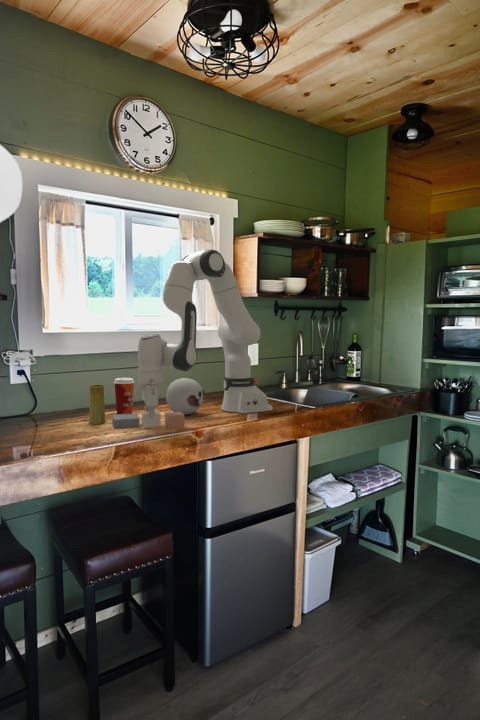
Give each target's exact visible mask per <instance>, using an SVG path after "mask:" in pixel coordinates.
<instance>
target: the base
mask: <svg viewBox="0 0 480 720" xmlns="http://www.w3.org/2000/svg"><path fill="white" fill-rule="evenodd" d="M111 415H112V416H111V417H112V424H113V428H114V429H117V428H118V429H119V428H134V427H138V428H139V427H140V417H139V416H138V414H137V413H132V414H117V413H116V414H111Z"/></svg>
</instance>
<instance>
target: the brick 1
mask: <svg viewBox="0 0 480 720" xmlns="http://www.w3.org/2000/svg"><path fill="white" fill-rule="evenodd" d="M161 419H162V418H161V413H160V411H159V410H155V411H154V418H149V411H145V410H144V411H143V410H142V411H141V423H142V427H143V429H148V428H149V429H151V428H161V427H162V425H161V424H162V423H161V422H162V421H161Z"/></svg>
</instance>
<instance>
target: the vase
mask: <svg viewBox="0 0 480 720" xmlns="http://www.w3.org/2000/svg"><path fill="white" fill-rule="evenodd" d="M104 392H105V385H104V384H101V383H100V384H99V383H98V384H97V383H96V384H91V385H89V414H88V415H89V420H88V423H89V424H90V425H100V424H105V423H106V422H107V421H106V409H105V408H106V407H105V393H104Z"/></svg>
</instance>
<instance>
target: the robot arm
mask: <svg viewBox="0 0 480 720" xmlns="http://www.w3.org/2000/svg"><path fill="white" fill-rule="evenodd" d="M203 280H206V281H208V283H209V285H210V290H211V293H212V296H213V299H214V303H215V305H216V308H217V311H218V312H219V313H220V314H221V315H222V318H223V319H224V321H222V322H221V323H220V324H219V326H218V327H217V336H218V337H219V340H220V342H221V345H222V349H223V354H224V365H225V366H224V376H223V390H224V393H223V398H222V399H223V400H222V405H221V407H220V409H221V410H222V411H225V412H228V413H229V412H230V413H238V414H250V413H251V414H252V413H260V412H270V411H273V410H274V407H273V406H272V405H271V404H269V401H268V396H267V395H266V394H265V392H264V391H262V390H261V389H260V388H259V387H257V386H256V385H257V384H258V382H259V380H258V378H253V377H252V375H251V372H252V371H251V370H252V359H251V357H250V355H249V353H248V351H247V347H248V346H251V345H254V344H255V345H256V343H257V342H258V341H259V340H260V338H261V328H260V326H259V325H258V324H257V322H255V320H254V319H253V318H252V316H251V315H250V313H249V311H248V309H247V308H246V306H245V303H244V301H243V299H242V295H241V292H240V288H239V285H238V282H237V279H236V277H235V275H234V272H233V270H232V268H231V266H230V265H229V264H228V263H227V262H226V261H225V259H224V256H223V255H222V254H221V253H220V252H219V251H218V250H215V249H206V250H200V251H196V252H194V253H191V254H189V255H186V256H184V257H183V258H182V259H181V260H180V261H176V262H173V263H171V265H170V267H169V270H168V273H167V275H166V279H165V282H164V288H163V293H162V301H163V304H164V305H165V307H166V308H167V309H168V310H169V311H171V312H172V313H174V314H176V315H178V317H180V320H181V328H180V329H181V334H180V341H179V343H175V342H174V343H173V342H168V341H167V340H164V339H163V338H162V336H161V334H158V333H149V334H144V335H141V336H140V338H139V340H138V341H139V342H138V346H137V347H138V348H137V360H138V366H137V383H138V384H140V390H141V391H140V393H141V394H140V395H141V398H142V400H143V401H144V407H145V408H144V409H145V410H144V411H149V418H154V411H156V408H158V407H159V389H158V388H159V384H162V383H163V368H166V369H173V370H179V371H183V372H187V371H190V370H191V369H192V368H193V367H194V366H195V365H196V363H197V359H198V358H197V357H198V354H197V323H198V322H197V319H198V318H197V317H198V316H197V315H198V313H197V307H196V304H194V302H193V290H194V284H195V282H196V281H203ZM255 384H256V385H255Z"/></svg>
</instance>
